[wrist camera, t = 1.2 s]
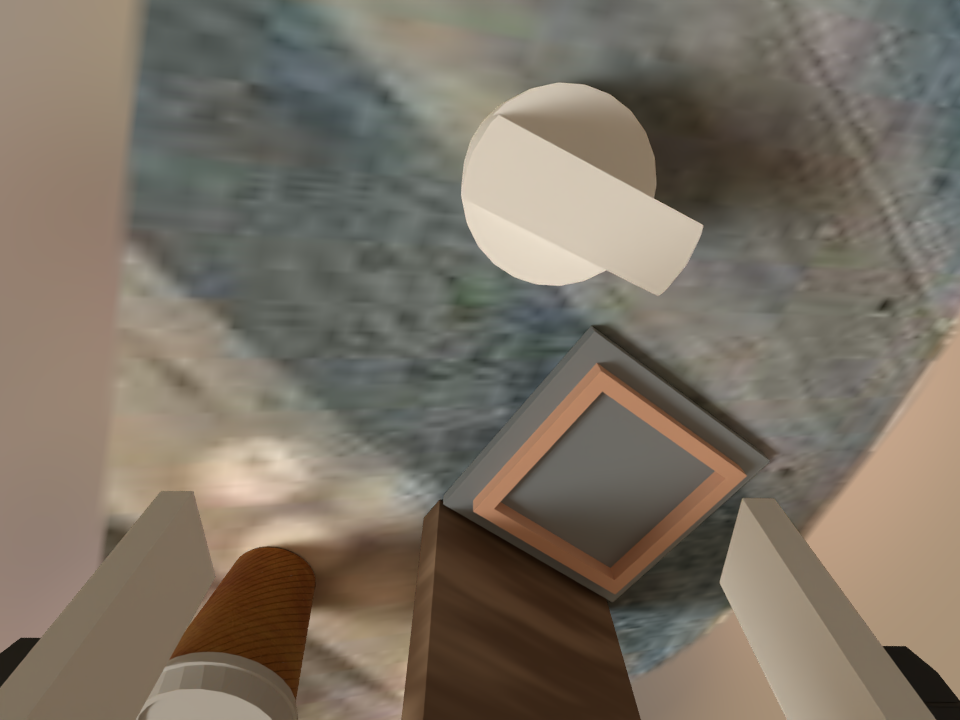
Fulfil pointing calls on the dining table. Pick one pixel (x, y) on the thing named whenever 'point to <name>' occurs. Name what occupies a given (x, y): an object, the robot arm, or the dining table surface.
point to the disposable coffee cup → (241, 646)
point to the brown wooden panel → (507, 635)
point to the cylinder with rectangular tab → (571, 192)
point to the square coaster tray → (603, 469)
